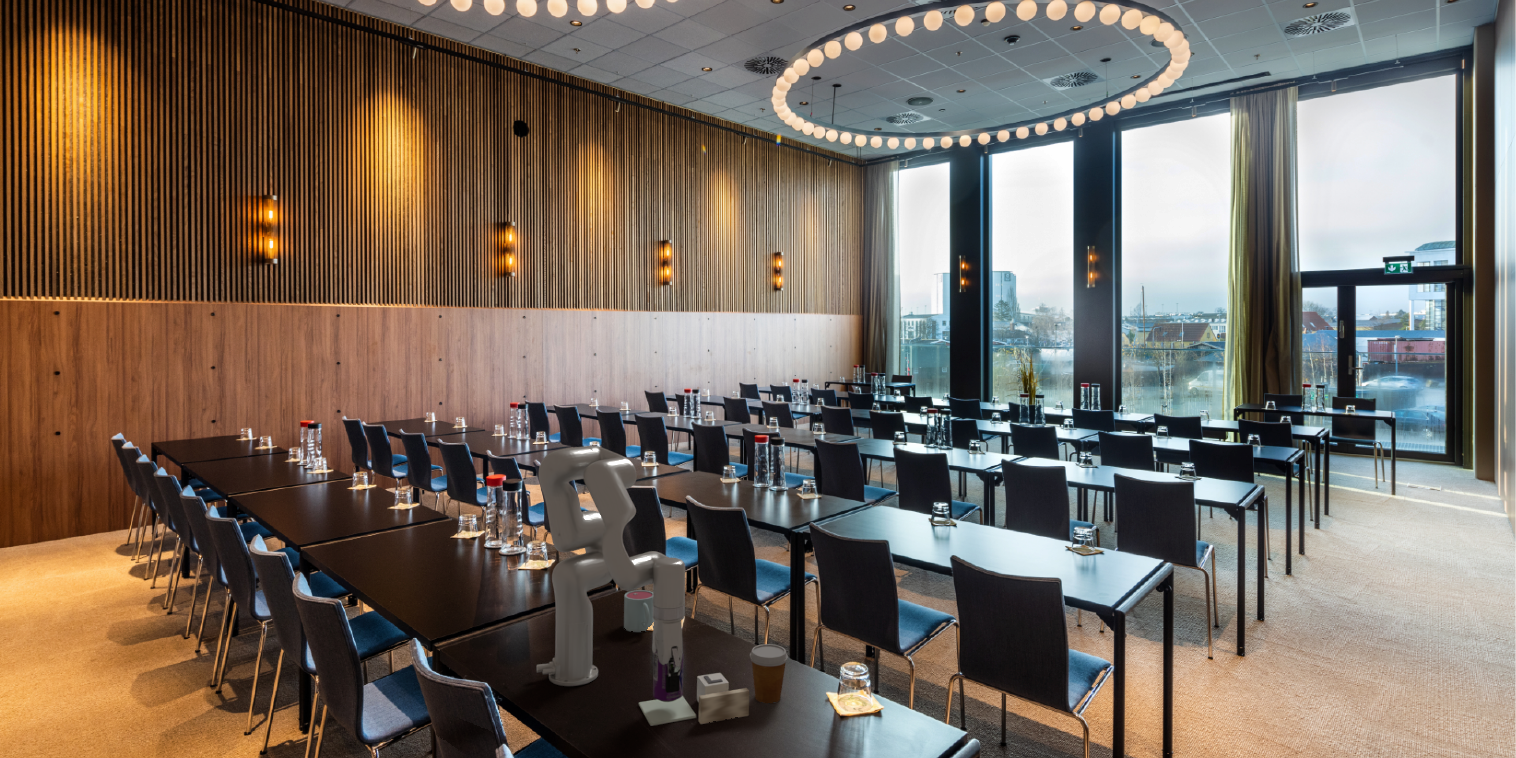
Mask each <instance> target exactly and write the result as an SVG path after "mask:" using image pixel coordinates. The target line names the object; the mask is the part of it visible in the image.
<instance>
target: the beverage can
mask: <svg viewBox="0 0 1516 758" xmlns="http://www.w3.org/2000/svg"><path fill="white" fill-rule="evenodd" d="M657 652H658V651H657V649H656V652H655V654H654V653H653V666H652V667H653V669H652V672H653V675H652V676H653V677H652V678H653V679H652V696H653V698H654V699H655V700H657V699H658V700H660V701H663V702H672V701H675V700H677V699H679V698H680V697H682V696H684V653H683V652H682V660H681V662H680V664H681V667H680V679H679V691H676V692H670V693H667V692H666V675H667V668H666V664H665V665H662V664H661V663H660V662H659V657H658V653H657ZM679 659H680V658H679ZM669 662H673V659H672V658H670V660H669ZM672 667H673V664H672V665H670V670H671V668H672Z"/></svg>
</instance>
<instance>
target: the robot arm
mask: <svg viewBox="0 0 1516 758" xmlns="http://www.w3.org/2000/svg"><path fill="white" fill-rule="evenodd" d="M637 475H638V473H637V470H636V467H635V465H634V463H633V462H632V461H631V460H630V459H629V458H627V457H625V456H623V455H621V454H619V453H617V452H614V451H611V450H609V449H607V448H604V447H602V446H599V445H586V446H585V445H583V446H578V447H577V446H576V447H567V448H563V449H558V450H554V451H552V452H549V453H548V454H547V455H546V456H544V458H542V461H541V462H540V464H539V468H538V482H539V485H540V488H541V491H542V494H543V497H544V500H545V504H546V511H547V512H546V513H547V516H548V517H547V518H548V523H549V529H550V535H551V540H552V541H551V542H552V544H553V546H554V549H556V550H557V552H560V553H571V552H574V551H578V550H582V549H584V550H585V551H584V553H581V554H576V555H574V556H570V557H566V558H564V559H562V560H561V561H560V562H558V563H556V565H555V566H554V568H553V569H552V573H551V582H552V587H553V591H554V600H555V645H554V646H555V653H554V654H555V655H554V657H553V658H552V661H548V663H542V664H541V663H540V664H539V663H538V664H536V667H535V669H536V673H542V676H543V675H548V679H549V682H551V683H553V684H554V685H558V686H561V687H563V686H564V687H576V686H583V685H586V684H589V683H590V682H592V681H594V680H596V679H597V677H598V676H599V668H598V667H597V666H596V665H594V664H593V654H594V653H593V651H594V649H593V644H594V643H593V640H594V638H593V637H594V636H593V635H594V633H593V632H594V610H593V609H594V608H593V604H592V601H591V600H590V598H589V597H588V594H587V592H589V591H590V590H592V589H593V590H594V589H595V588H600V587H601V586H605V585H608V583H610V582H611V581H612V580H613V581H614V583H615V584H616V585H617V586H618V588H620V589H622V590H623V591H627V592H630V591H636V590H637V589H639V588H643V587H645V586H649V585H652V592H653V619H654V626H653V629H652V641H651V643H652V646H651V649H652V653H653V655H654V654H655V652H656V649H657V651H658V652H657V653H658V657H659V662H660V663H661V664H662V665H665V664H666V668H667V675H666V692H667V693H670V692H676V691H679V679H680V667H681V664H680V662H681V660H682V653H683V627H682V621H683V620H684V619H685V615H686V613H685V608H686V607H685V605H686V602H685V600H686V598H685V597H686V595H685V594H686V564H685V562H684V560H682V559H681V558H677V557H669V556H667V555H665V554H663V553H662V552H658V551H656V550H655V551H652V550H651V551H646V552H644V553H639V554H636V555H632V556H629V554H628V551H627V550H626V548H625V545H624V539H623V536H624V535H623V533H624V530H625V527H626V525H627V524H628V523H629V522H630V521H631V520H632V519H633V518H634V517H635V515H636V513H637V509H636V507H635V503H634V502H633V501H632V497H630V495H629V492H628V490H627V489H630V488H632V487H634V485H635V484H636V481H637ZM577 480H583V482H584V484H585V487H586V488H587V490H588V493H589V495H590V497H591V499H592V501H593V503H594V505H595V508H596V509H597V510H585V511H582V509H581V503H580V497H579V495H578V493H577V491H576V489H575V488H574V487H573V486H572V485H571V484H570V482H571V481H577ZM670 658H672V659H673V662H669V660H670ZM679 658H680V659H679ZM672 664H673V667H672V668H671V670H670V665H672Z"/></svg>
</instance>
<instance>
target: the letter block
mask: <svg viewBox="0 0 1516 758" xmlns="http://www.w3.org/2000/svg"><path fill="white" fill-rule="evenodd" d="M696 678H697V679H696V681H697V683H696V701H697V703H699V696H701V695H707V694H713V693H719V692H725V691H730V690H729V689H730V688H729V686H730V685H729V683H730V682H729V681H728V680H727V679H726V678H725V676H724V675H723V674H722V673H721V672H716V673H709V674H703V675H698V676H697V677H696Z"/></svg>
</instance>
